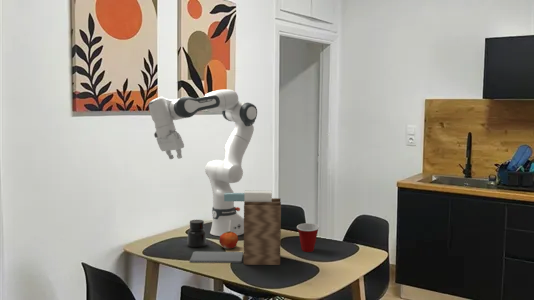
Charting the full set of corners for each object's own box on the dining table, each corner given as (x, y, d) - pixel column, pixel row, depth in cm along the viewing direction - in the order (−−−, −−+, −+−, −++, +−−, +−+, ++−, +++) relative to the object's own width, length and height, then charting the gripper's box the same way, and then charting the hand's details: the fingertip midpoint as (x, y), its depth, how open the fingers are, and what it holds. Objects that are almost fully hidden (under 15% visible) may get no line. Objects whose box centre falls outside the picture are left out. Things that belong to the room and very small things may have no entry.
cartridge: (223, 203, 223) (223, 192, 223) (225, 201, 229) (225, 190, 229) (271, 204, 223) (271, 193, 223) (271, 201, 229) (271, 190, 229)
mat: (189, 262, 224) (189, 260, 224) (193, 253, 237) (193, 251, 237) (241, 262, 224) (241, 260, 224) (243, 253, 237) (243, 251, 237)
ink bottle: (208, 242, 254) (208, 219, 253) (204, 248, 245) (204, 223, 244) (189, 242, 255) (189, 218, 254) (184, 247, 246) (184, 223, 245)
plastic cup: (292, 251, 241) (292, 227, 240) (301, 245, 251) (302, 222, 249) (313, 255, 236) (314, 230, 235) (322, 249, 246) (322, 224, 244)
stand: (243, 264, 222) (243, 203, 219) (245, 254, 236) (245, 196, 233) (280, 264, 222) (281, 203, 219) (279, 254, 236) (280, 197, 233)
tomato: (235, 251, 241) (235, 234, 240) (216, 249, 243) (216, 233, 242) (240, 245, 250) (240, 229, 249) (222, 244, 252) (222, 228, 251)
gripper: (181, 127, 234) (191, 155, 236) (163, 130, 251) (172, 157, 253) (169, 131, 231) (179, 160, 233) (152, 134, 248) (161, 161, 250)
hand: (175, 158), depth 243 cm, fingers open, 8 cm apart
